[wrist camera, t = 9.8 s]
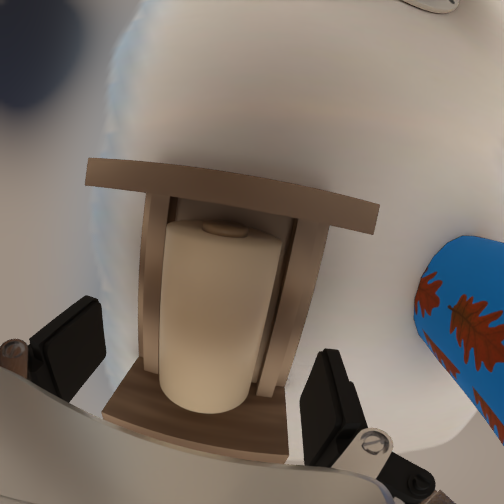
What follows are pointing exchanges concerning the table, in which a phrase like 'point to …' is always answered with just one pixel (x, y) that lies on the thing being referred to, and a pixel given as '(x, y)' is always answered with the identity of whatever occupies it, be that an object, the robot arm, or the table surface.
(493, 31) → the table surface
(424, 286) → the thermos
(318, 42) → the table surface
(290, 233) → the cradle
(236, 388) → the kraft roll
